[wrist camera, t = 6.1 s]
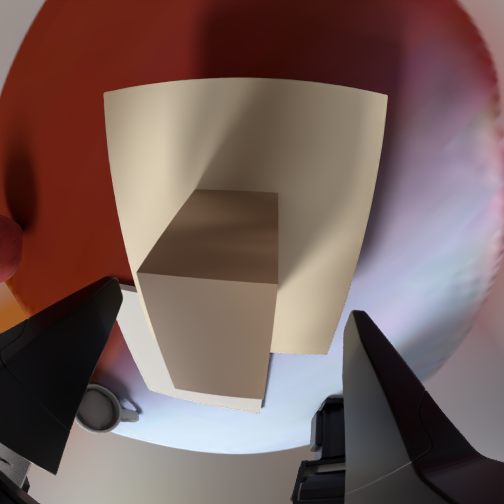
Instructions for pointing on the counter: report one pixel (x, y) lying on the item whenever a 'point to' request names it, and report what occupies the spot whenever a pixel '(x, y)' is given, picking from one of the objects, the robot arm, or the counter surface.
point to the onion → (9, 247)
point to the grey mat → (153, 362)
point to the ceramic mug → (102, 411)
